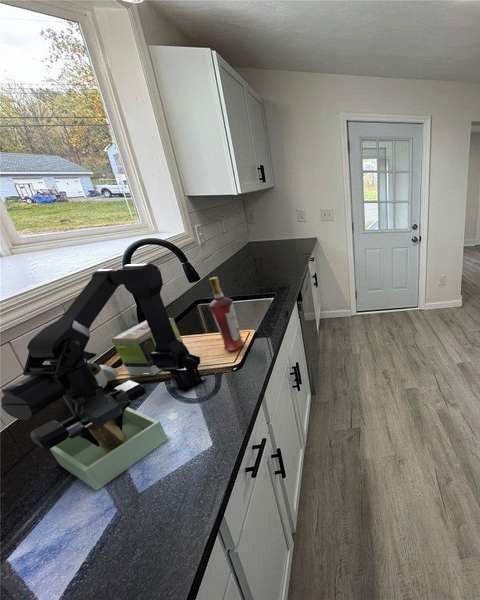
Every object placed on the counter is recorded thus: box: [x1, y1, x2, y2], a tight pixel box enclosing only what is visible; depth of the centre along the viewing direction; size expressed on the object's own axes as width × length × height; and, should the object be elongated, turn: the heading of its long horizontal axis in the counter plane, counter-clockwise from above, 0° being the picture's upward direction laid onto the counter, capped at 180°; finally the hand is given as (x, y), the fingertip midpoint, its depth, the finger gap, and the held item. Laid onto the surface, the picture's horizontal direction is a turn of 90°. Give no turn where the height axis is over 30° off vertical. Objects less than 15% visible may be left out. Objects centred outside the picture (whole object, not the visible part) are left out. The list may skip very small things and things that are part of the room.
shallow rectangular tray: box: [49, 406, 169, 491], centre depth 74 cm, size 15×17×6 cm
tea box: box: [110, 317, 184, 377], centre depth 109 cm, size 15×10×15 cm
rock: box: [87, 420, 128, 454], centre depth 75 cm, size 11×9×10 cm
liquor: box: [208, 276, 245, 352], centre depth 113 cm, size 7×7×28 cm
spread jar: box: [87, 360, 119, 390], centre depth 97 cm, size 12×11×12 cm
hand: (109, 438), depth 74 cm, fingers closed on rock, 4 cm apart
